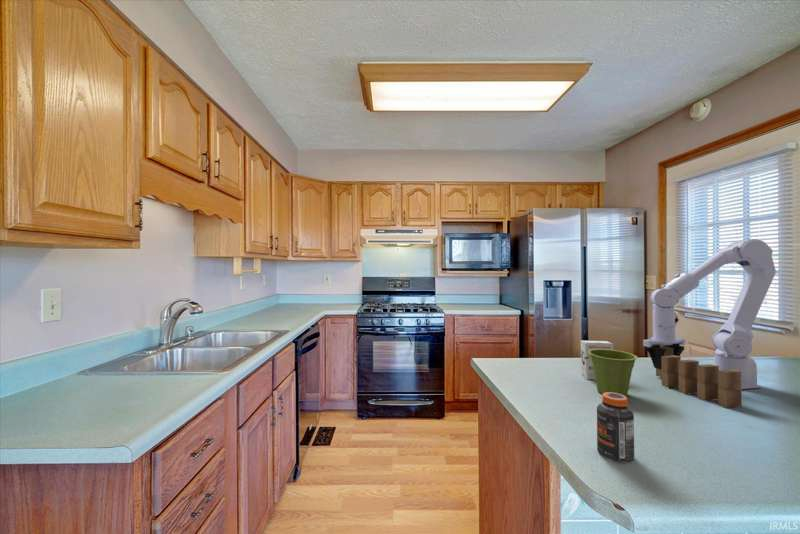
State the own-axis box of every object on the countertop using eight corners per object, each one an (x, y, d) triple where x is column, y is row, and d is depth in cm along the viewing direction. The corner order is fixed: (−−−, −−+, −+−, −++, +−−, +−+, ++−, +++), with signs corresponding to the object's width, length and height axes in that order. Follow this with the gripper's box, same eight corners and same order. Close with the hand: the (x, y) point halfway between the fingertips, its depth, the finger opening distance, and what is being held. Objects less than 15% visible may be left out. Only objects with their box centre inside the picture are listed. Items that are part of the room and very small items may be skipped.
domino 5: (733, 403, 87) (732, 369, 87) (741, 406, 85) (741, 371, 86) (718, 405, 86) (717, 370, 86) (726, 408, 84) (726, 372, 84)
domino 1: (668, 374, 110) (667, 347, 110) (673, 376, 108) (673, 348, 108) (656, 375, 109) (655, 348, 109) (661, 377, 107) (660, 349, 107)
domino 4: (711, 396, 92) (711, 364, 92) (719, 399, 90) (718, 365, 90) (697, 398, 91) (697, 365, 91) (704, 400, 89) (704, 367, 89)
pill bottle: (590, 447, 66) (589, 390, 66) (618, 446, 66) (617, 389, 66) (611, 465, 60) (611, 401, 60) (642, 463, 60) (641, 400, 60)
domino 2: (675, 384, 102) (674, 355, 102) (681, 386, 100) (680, 356, 100) (661, 386, 101) (661, 356, 101) (667, 388, 99) (667, 357, 99)
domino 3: (692, 390, 97) (692, 359, 97) (699, 392, 95) (698, 361, 95) (678, 391, 96) (678, 360, 96) (685, 394, 94) (684, 362, 94)
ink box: (608, 376, 111) (608, 340, 111) (615, 380, 106) (614, 343, 106) (580, 374, 112) (580, 339, 112) (586, 379, 107) (585, 342, 107)
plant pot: (592, 398, 92) (591, 356, 92) (585, 384, 103) (585, 347, 103) (643, 404, 87) (643, 361, 87) (631, 389, 98) (631, 350, 98)
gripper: (669, 323, 114) (670, 363, 114) (634, 324, 111) (635, 365, 111) (691, 326, 107) (692, 368, 107) (654, 328, 104) (655, 372, 104)
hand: (664, 367), depth 109 cm, fingers closed on domino 1, 5 cm apart
